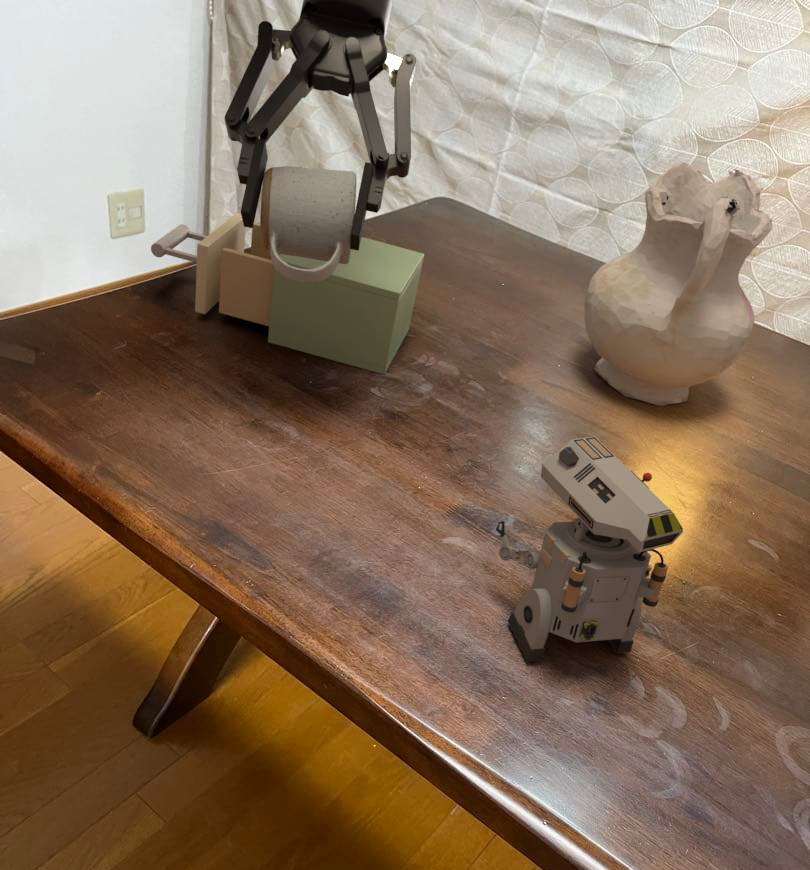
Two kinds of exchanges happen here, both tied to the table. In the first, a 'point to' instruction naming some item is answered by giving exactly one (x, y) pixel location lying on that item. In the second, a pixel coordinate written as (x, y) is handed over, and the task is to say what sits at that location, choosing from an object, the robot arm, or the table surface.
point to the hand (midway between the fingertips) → (300, 231)
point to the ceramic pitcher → (678, 288)
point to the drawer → (227, 269)
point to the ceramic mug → (307, 218)
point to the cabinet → (349, 306)
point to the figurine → (592, 553)
